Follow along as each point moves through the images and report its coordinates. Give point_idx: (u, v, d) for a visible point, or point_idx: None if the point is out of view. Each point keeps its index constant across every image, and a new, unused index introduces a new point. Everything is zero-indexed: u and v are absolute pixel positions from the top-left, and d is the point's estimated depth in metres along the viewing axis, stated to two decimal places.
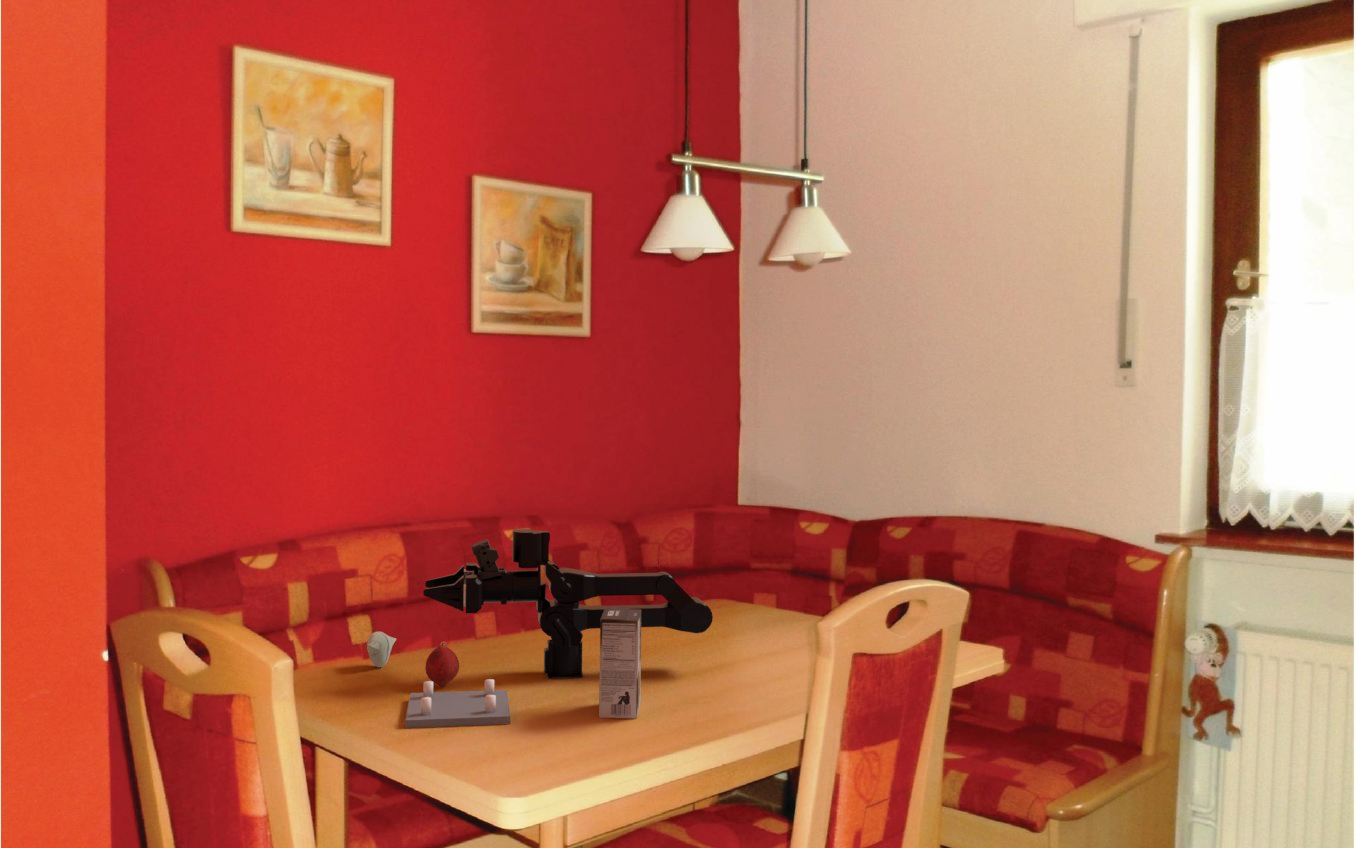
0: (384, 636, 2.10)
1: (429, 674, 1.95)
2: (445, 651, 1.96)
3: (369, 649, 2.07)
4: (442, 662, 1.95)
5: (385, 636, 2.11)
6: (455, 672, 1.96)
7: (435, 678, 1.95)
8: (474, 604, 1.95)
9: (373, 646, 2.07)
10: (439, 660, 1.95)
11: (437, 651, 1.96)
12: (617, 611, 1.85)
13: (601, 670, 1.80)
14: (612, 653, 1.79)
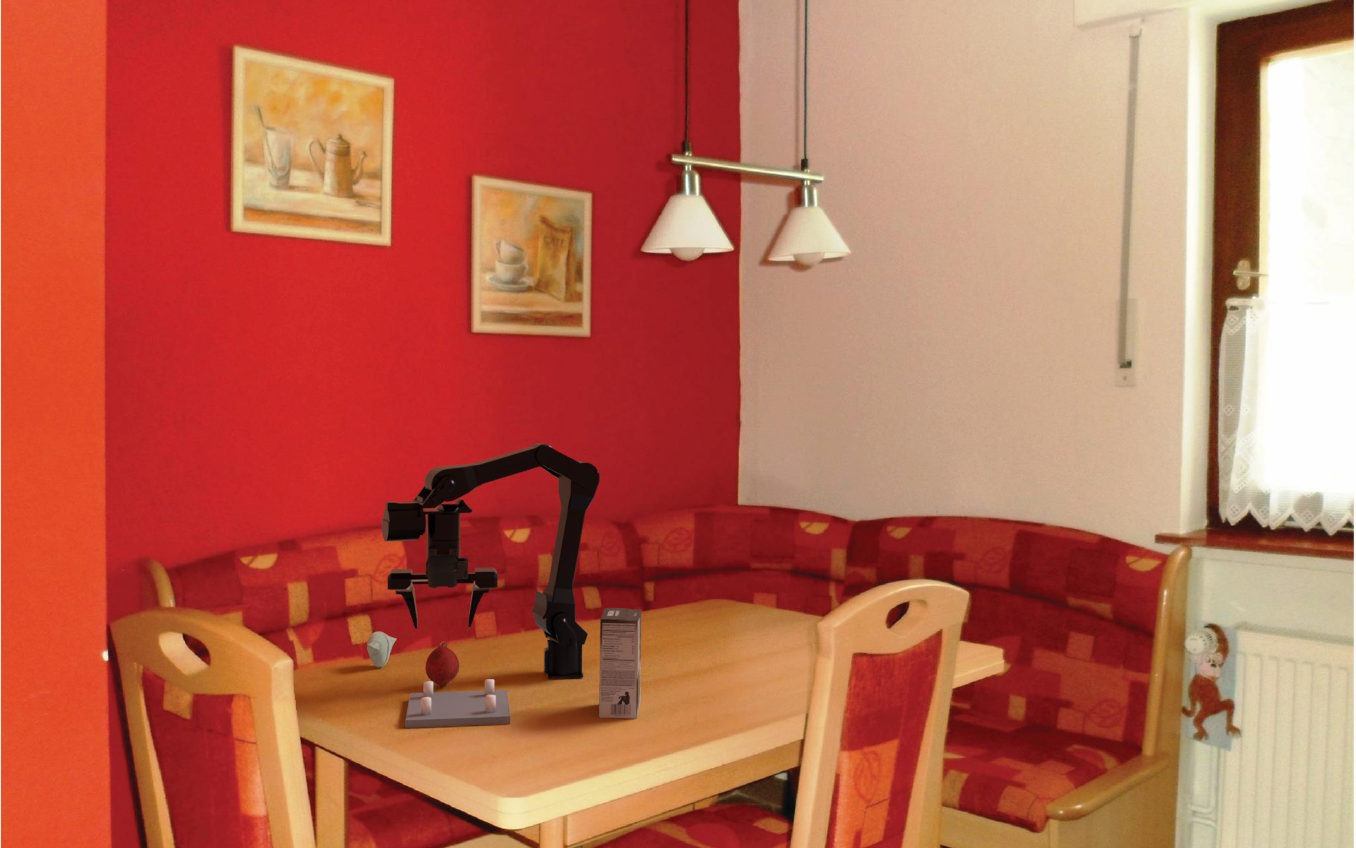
0: (384, 636, 2.10)
1: (429, 674, 1.95)
2: (445, 651, 1.96)
3: (369, 649, 2.07)
4: (442, 662, 1.95)
5: (385, 636, 2.11)
6: (455, 672, 1.96)
7: (435, 678, 1.95)
8: None
9: (373, 646, 2.07)
10: (439, 660, 1.95)
11: (437, 651, 1.96)
12: (617, 611, 1.85)
13: (601, 670, 1.80)
14: (612, 653, 1.79)
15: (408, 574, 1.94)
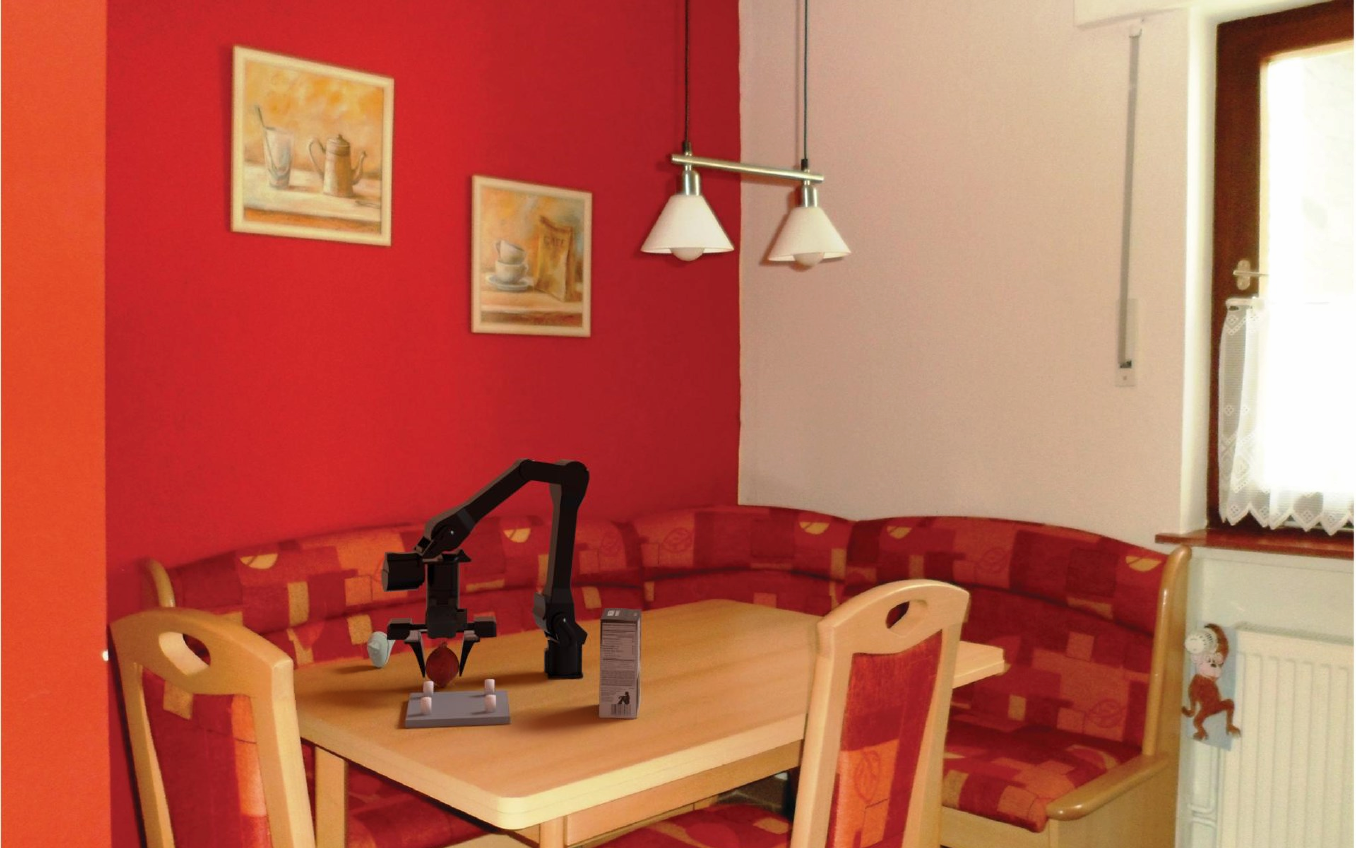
0: (384, 636, 2.10)
1: (429, 674, 1.95)
2: (445, 651, 1.96)
3: (369, 649, 2.07)
4: (442, 662, 1.95)
5: (385, 636, 2.11)
6: (455, 672, 1.96)
7: (435, 678, 1.95)
8: None
9: (373, 646, 2.07)
10: (439, 660, 1.95)
11: (437, 651, 1.96)
12: (617, 611, 1.85)
13: (601, 670, 1.80)
14: (612, 653, 1.79)
15: (407, 624, 1.94)
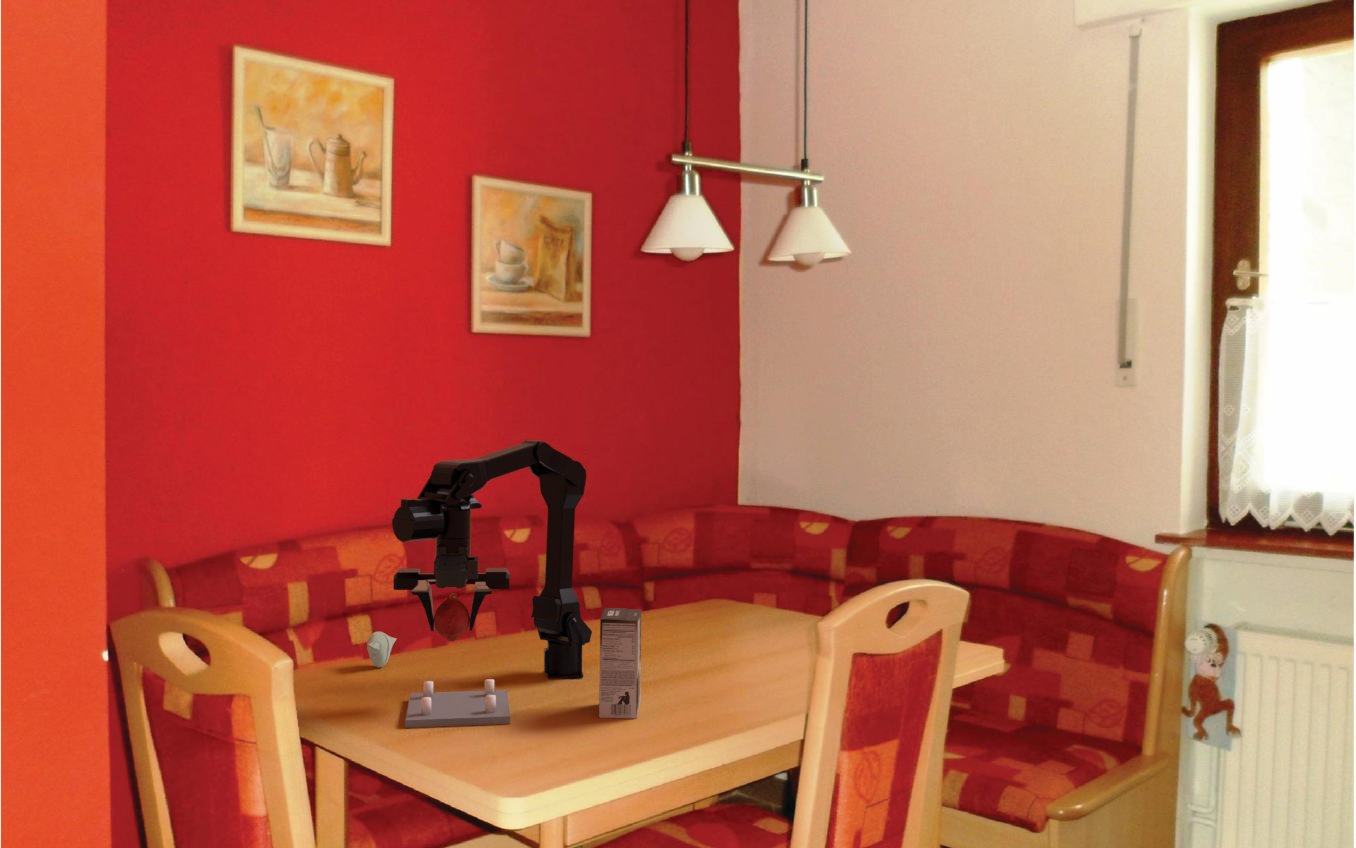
0: (384, 636, 2.10)
1: (438, 627, 1.85)
2: (455, 603, 1.86)
3: (369, 649, 2.07)
4: (452, 614, 1.84)
5: (385, 636, 2.11)
6: (465, 625, 1.86)
7: (444, 631, 1.84)
8: None
9: (373, 646, 2.07)
10: (449, 612, 1.84)
11: (446, 602, 1.86)
12: (617, 611, 1.85)
13: (601, 670, 1.80)
14: (612, 653, 1.79)
15: (415, 573, 1.83)
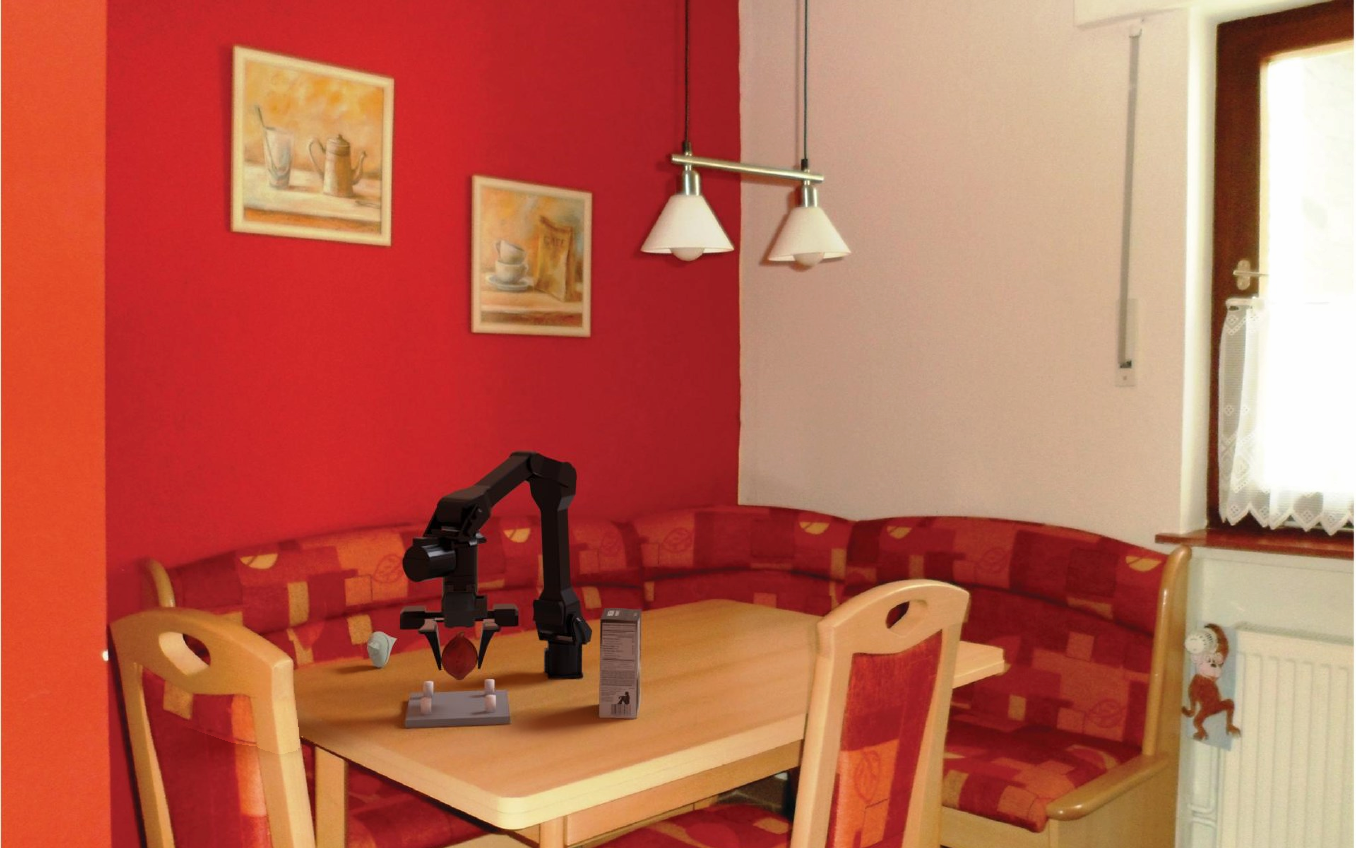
0: (384, 636, 2.10)
1: (445, 666, 1.80)
2: (463, 641, 1.81)
3: (369, 649, 2.07)
4: (460, 653, 1.80)
5: (385, 636, 2.11)
6: (474, 664, 1.81)
7: (452, 670, 1.80)
8: None
9: (373, 646, 2.07)
10: (457, 651, 1.80)
11: (454, 641, 1.81)
12: (617, 611, 1.85)
13: (601, 670, 1.80)
14: (612, 653, 1.79)
15: (422, 612, 1.79)
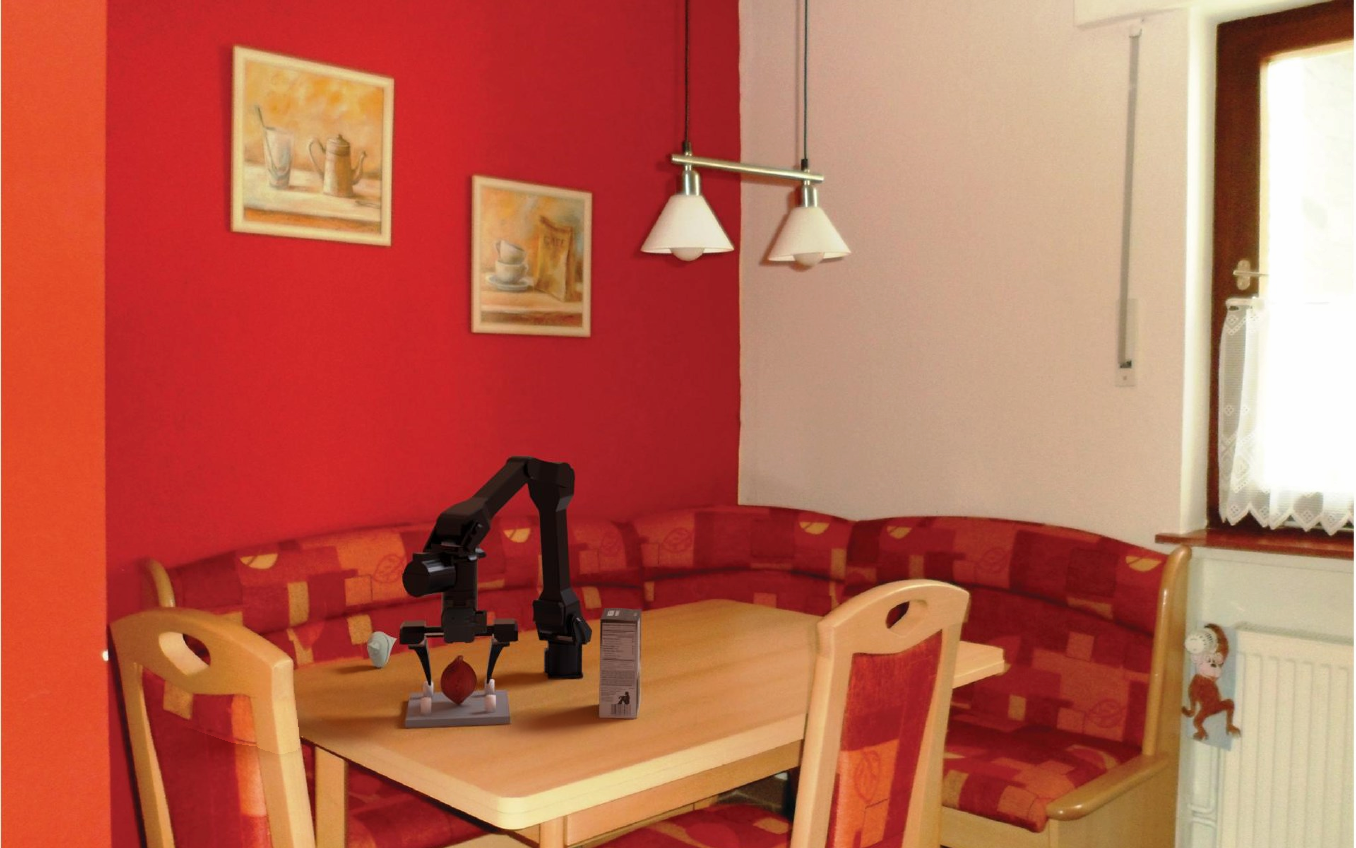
0: (384, 636, 2.10)
1: (445, 690, 1.80)
2: (462, 665, 1.81)
3: (369, 649, 2.07)
4: (459, 677, 1.80)
5: (385, 636, 2.11)
6: (473, 688, 1.81)
7: (451, 694, 1.80)
8: None
9: (373, 646, 2.07)
10: (456, 675, 1.80)
11: (453, 665, 1.81)
12: (617, 611, 1.85)
13: (601, 670, 1.80)
14: (612, 653, 1.79)
15: (421, 627, 1.79)
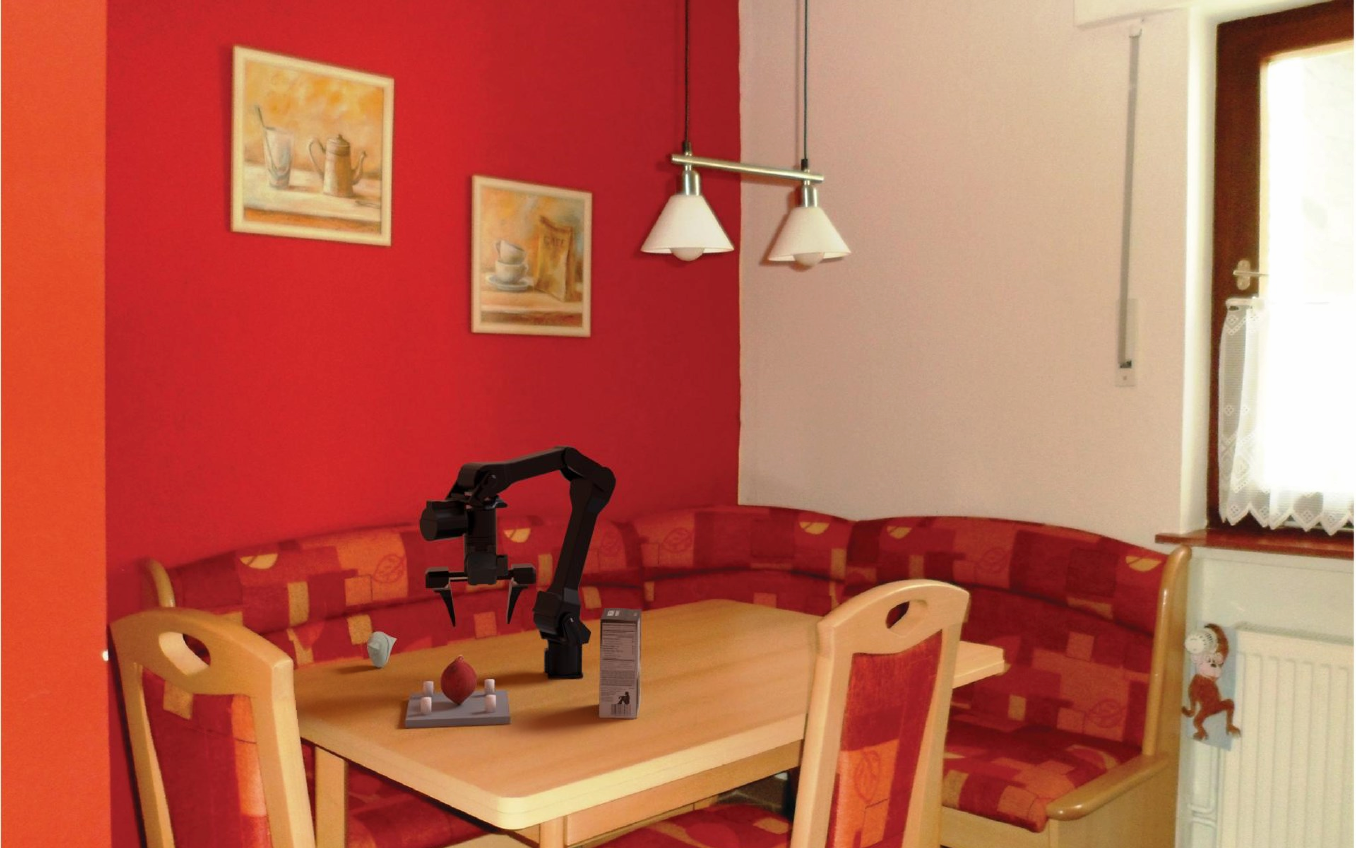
0: (384, 636, 2.10)
1: (445, 690, 1.80)
2: (462, 665, 1.81)
3: (369, 649, 2.07)
4: (459, 677, 1.80)
5: (385, 636, 2.11)
6: (473, 688, 1.81)
7: (451, 694, 1.80)
8: None
9: (373, 646, 2.07)
10: (456, 675, 1.80)
11: (453, 665, 1.81)
12: (617, 611, 1.85)
13: (601, 670, 1.80)
14: (612, 653, 1.79)
15: (446, 572, 1.91)
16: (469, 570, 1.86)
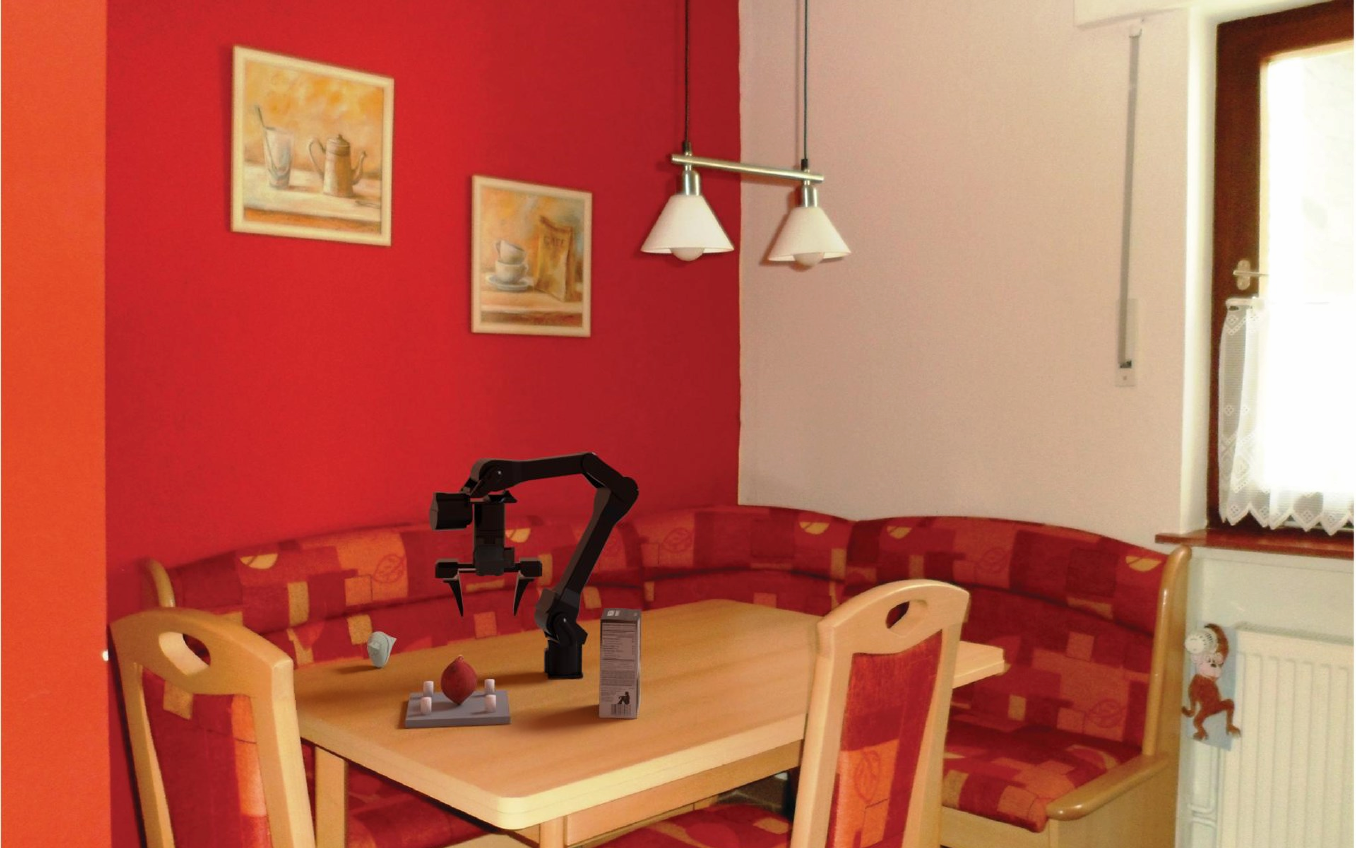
0: (384, 636, 2.10)
1: (445, 690, 1.80)
2: (462, 665, 1.81)
3: (369, 649, 2.07)
4: (459, 677, 1.80)
5: (385, 636, 2.11)
6: (473, 688, 1.81)
7: (451, 694, 1.80)
8: None
9: (373, 646, 2.07)
10: (456, 675, 1.80)
11: (453, 665, 1.81)
12: (617, 611, 1.85)
13: (601, 670, 1.80)
14: (612, 653, 1.79)
15: (455, 563, 1.97)
16: (477, 561, 1.92)
